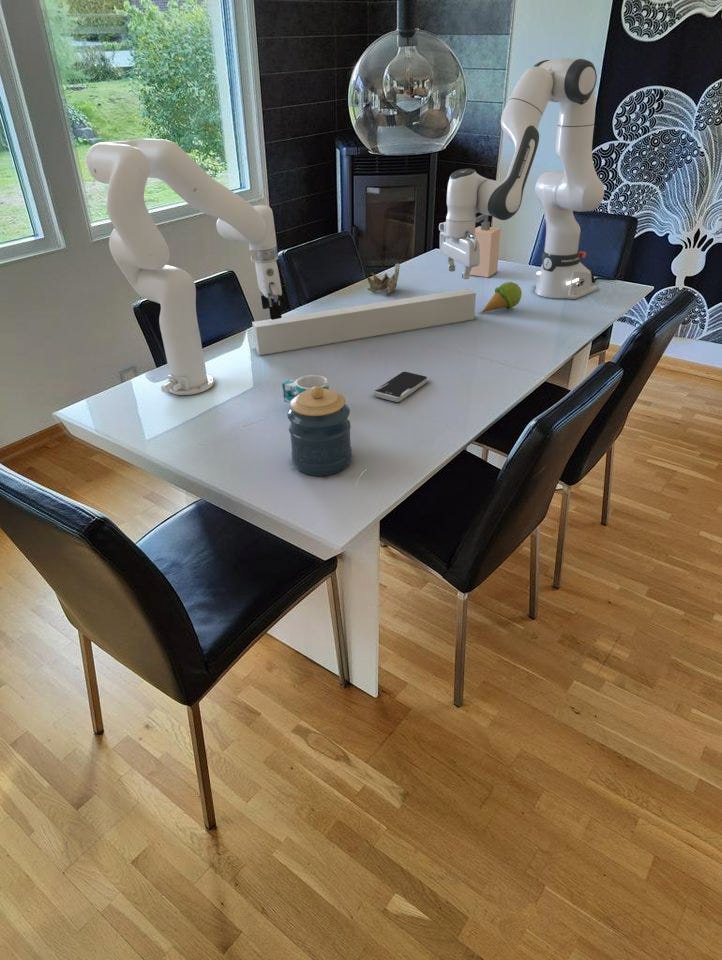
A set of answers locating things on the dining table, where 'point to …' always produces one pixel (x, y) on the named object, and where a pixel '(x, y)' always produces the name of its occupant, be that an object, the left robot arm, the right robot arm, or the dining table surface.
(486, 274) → the soap dispenser
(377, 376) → the dining table surface
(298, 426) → the canister
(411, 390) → the smartphone
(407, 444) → the dining table surface
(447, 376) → the dining table surface
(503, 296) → the toy
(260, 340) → the post
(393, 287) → the gold crown
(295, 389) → the mug
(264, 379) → the dining table surface
